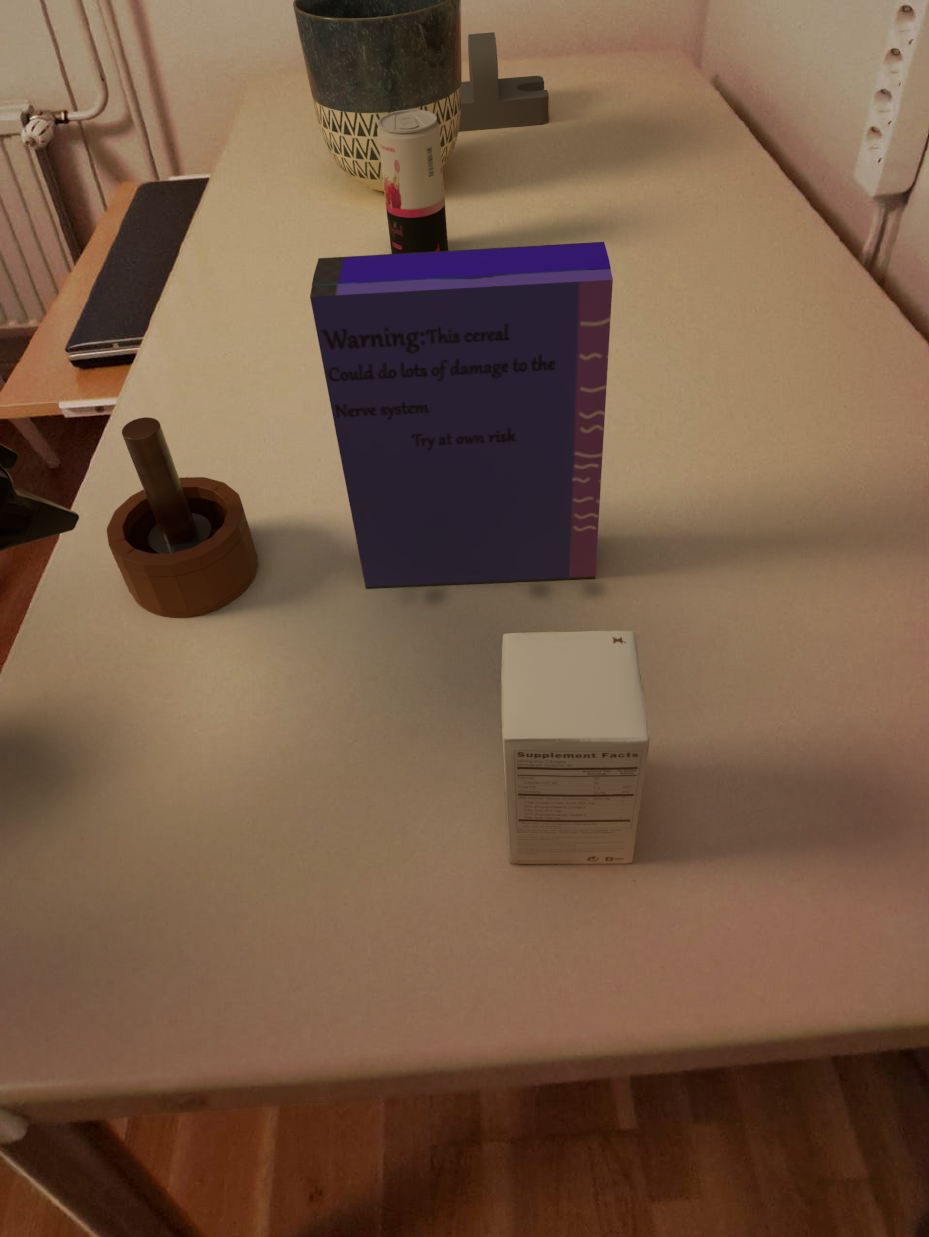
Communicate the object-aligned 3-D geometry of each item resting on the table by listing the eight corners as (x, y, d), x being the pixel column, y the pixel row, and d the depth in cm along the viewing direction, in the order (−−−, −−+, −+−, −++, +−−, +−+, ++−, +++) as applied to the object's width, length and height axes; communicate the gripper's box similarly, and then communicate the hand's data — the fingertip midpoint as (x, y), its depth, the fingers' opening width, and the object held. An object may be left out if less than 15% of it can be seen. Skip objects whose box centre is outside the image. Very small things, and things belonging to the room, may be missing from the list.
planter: (447, 219, 116) (433, 19, 100) (301, 210, 120) (266, 18, 104) (486, 157, 128) (478, -28, 113) (353, 152, 133) (328, -28, 117)
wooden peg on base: (211, 589, 71) (161, 450, 62) (152, 586, 72) (93, 448, 63) (230, 547, 75) (185, 408, 65) (173, 544, 75) (121, 407, 66)
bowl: (138, 633, 70) (113, 580, 66) (124, 550, 76) (101, 497, 72) (269, 595, 72) (253, 541, 68) (245, 517, 78) (229, 464, 74)
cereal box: (589, 536, 74) (604, 238, 57) (595, 578, 71) (613, 275, 53) (370, 546, 75) (318, 255, 57) (365, 588, 71) (309, 293, 54)
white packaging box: (506, 762, 60) (501, 627, 51) (624, 762, 59) (639, 625, 50) (505, 867, 55) (499, 739, 45) (634, 868, 54) (653, 738, 45)
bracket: (549, 123, 136) (549, 39, 128) (425, 134, 136) (418, 50, 128) (541, 101, 142) (541, 19, 135) (423, 111, 142) (417, 30, 135)
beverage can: (396, 275, 106) (380, 135, 95) (388, 250, 111) (372, 113, 100) (453, 266, 107) (443, 126, 96) (443, 242, 111) (432, 105, 100)
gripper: (-121, 341, 42) (166, 438, 55) (-233, 223, 52) (32, 328, 65) (-204, 556, 44) (90, 601, 57) (-296, 404, 54) (-28, 471, 67)
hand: (44, 489), depth 61 cm, fingers open, 9 cm apart
